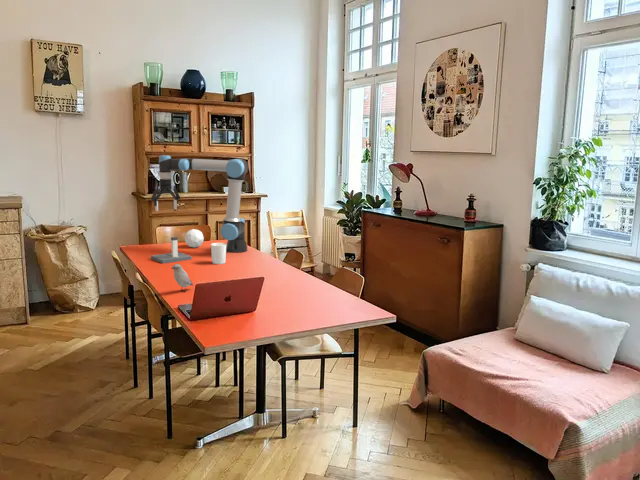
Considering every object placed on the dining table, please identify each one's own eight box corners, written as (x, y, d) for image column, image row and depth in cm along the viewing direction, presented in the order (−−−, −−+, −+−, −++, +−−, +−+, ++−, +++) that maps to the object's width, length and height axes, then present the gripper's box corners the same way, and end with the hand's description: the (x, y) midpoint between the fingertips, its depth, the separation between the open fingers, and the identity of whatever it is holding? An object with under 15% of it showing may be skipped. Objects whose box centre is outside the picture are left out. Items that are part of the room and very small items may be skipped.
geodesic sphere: (181, 237, 391) (183, 224, 381) (200, 236, 396) (202, 223, 387) (185, 252, 382) (187, 239, 373) (204, 250, 388) (206, 238, 378)
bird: (168, 293, 272) (167, 264, 269) (190, 287, 282) (189, 260, 279) (174, 295, 269) (173, 266, 266) (196, 289, 279) (195, 261, 276)
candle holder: (228, 261, 344) (228, 243, 342) (224, 264, 335) (224, 246, 332) (213, 260, 345) (213, 242, 343) (208, 264, 335) (208, 245, 333)
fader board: (178, 254, 359) (178, 251, 359) (191, 259, 347) (191, 256, 347) (150, 258, 346) (150, 255, 346) (162, 263, 334) (162, 260, 333)
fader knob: (176, 256, 345) (175, 236, 342) (178, 256, 343) (177, 237, 340) (171, 256, 342) (170, 237, 340) (173, 257, 341) (172, 238, 338)
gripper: (179, 177, 371) (180, 208, 375) (145, 178, 354) (146, 210, 358) (184, 178, 366) (185, 209, 369) (150, 179, 349) (151, 211, 353)
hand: (166, 210), depth 364 cm, fingers open, 13 cm apart
